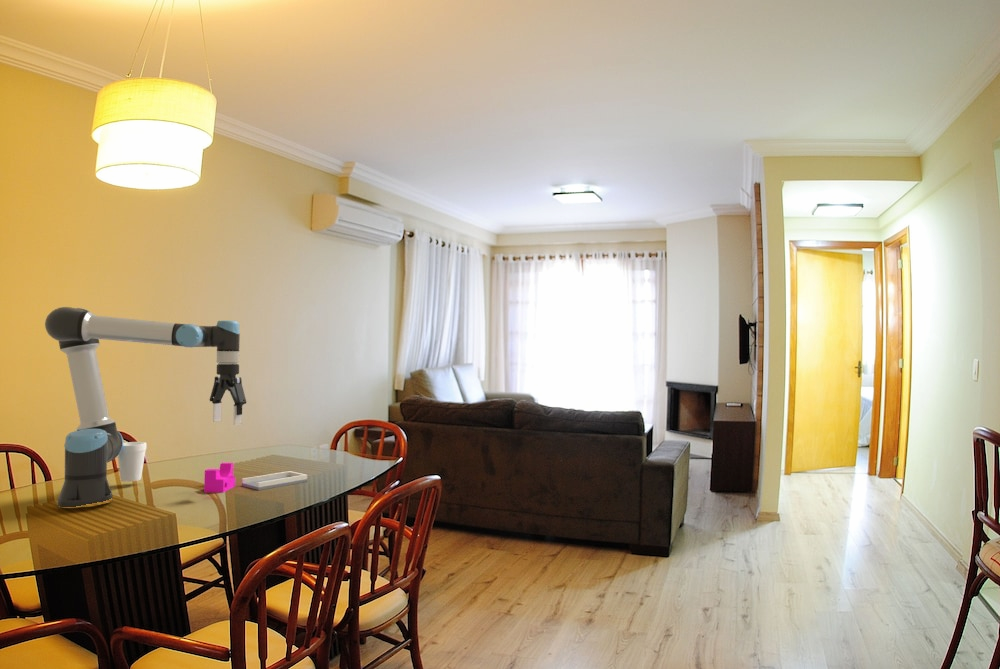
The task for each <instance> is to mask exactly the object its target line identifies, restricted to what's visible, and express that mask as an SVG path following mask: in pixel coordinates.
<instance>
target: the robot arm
mask: <svg viewBox="0 0 1000 669" xmlns="http://www.w3.org/2000/svg"><path fill="white" fill-rule="evenodd" d="M44 328H45V330H46V333H47V334H48V335H49V337H50V338H52V339H53V340H56V341H57V342H58V344H59V351H61V352H63V353H64V354H66V358H67V362H68V368H69V372H70V378H71V382H72V387H73V392H74V396H75V401H76V407H77V411H78V417H79V421H80V423H79V425H78V427H77V428H76V430H74V431H71V432H69V433H68V434H67V435H66V436H65V441H64V446H63V447H64V481H63V485H62V487H61V490H60V492H59V494H58V498H57V507H58V506H60V507H76V506H81V505H86V504H92V503H97V502H103V501H106V500H109V499H111V498H112V499H113V493H112V488H111V486H110V484H109V480H108V478H107V476H108V475H107V468H108V467H107V466H108V465H107V464H108V463H110V462H111V461H114V460H115V459H116V458H118V455H119V453H120V452H121V450H122V448H123V443H124V438H123V436H122V433H120V432H119V431H118V428H117V424H116V420H114V419H112V418H111V417H110V415H109V414H110V413H109V410H108V405H107V401H106V400H107V398H106V394H105V390H104V384H103V379H102V375H101V369H100V365H99V360H98V356H97V348H98V347H99V346H100V344H101V343H100V340H105V341H106V340H108V341H117V342H130V343H138V344H139V343H140V344H141V343H142V344H154V345H165V346H166V345H167V346H175V347H185V348H207V347H208V348H216V362H217V365H216V375H219V376H214V383H213V386H212V389H211V394H210V397H209V402H211V403H212V405H213V407H212V411H213V412H212V414H213V416H212V417H213V418H212V419H213V420H212V421H213V422H214V423H215V422H216V423H217V422H222V408H223V407H222V405H223V404H222V400H223V397H224V394H225V393H226V391H228V392H229V393H230V396H231V398H232V401H233V402H234V404H233V425H242V423H243V406H244V405H245V404H246V405H247V399H246V396H245V391H244V386H243V383H242V382H243V380H242V377H237V376H236V375H239V374H240V365H239V363H240V338H241V337H240V336H241V332H240V323H239V321H236V320H218V321H217V323H216V325H209V326H208V325H195V324H193V323H192V324H190V323H177V322H167V321H166V322H165V321H154V320H147V319H146V320H144V319H135V318H127V317H126V318H124V317H113V316H105V315H104V316H103V315H95V314H94V313H93V312H91V311H89V310H88V309H85V308H81V307H76V308H75V307H70V306H69V307H68V306H62V307H57V308H54V309H53V310H52V311H51V312H50V313H48V315H47V316H46V318H45V322H44ZM60 507H59V508H60Z"/></svg>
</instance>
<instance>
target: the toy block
mask: <svg viewBox="0 0 1000 669" xmlns="http://www.w3.org/2000/svg"><path fill="white" fill-rule="evenodd" d="M203 486H204V489H203V490H204V493H205V494H206V493H215V494H216V493H217V494H218V493H225V492H227V491H228V490H231V489H232V488H235V487H236V476H234V462H221V463H220V464H219V468H207V469H204V485H203Z"/></svg>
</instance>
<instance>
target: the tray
mask: <svg viewBox="0 0 1000 669" xmlns="http://www.w3.org/2000/svg"><path fill="white" fill-rule="evenodd" d="M307 482H308V474H305V473H301V472H297V471H291V470H289V471H288V470H287V471H282V472H275V473H269V474H263V475H257V476H252V477H251V476H250V477H243V478H241V486H242V487H243V488H248V489H252V490H256V491H262V490H263V491H265V490H269V489H274V488H280V487H286V486H291V485H296V484H297V485H298V484H302V483H303V484H304V483H307Z"/></svg>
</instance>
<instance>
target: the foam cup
mask: <svg viewBox="0 0 1000 669" xmlns="http://www.w3.org/2000/svg"><path fill="white" fill-rule="evenodd" d="M146 451H147V442H145V441H144V442H143V441H129V442H123V448H122V450H121V452H120V453H119V455H118V456H117V461H118V468H119V478H120V481H121V482H127V483H128V482H129V483H130V482H137V481H140V480H142V476H143V469H144V462H145V457H146V456H145V455H146Z"/></svg>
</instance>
